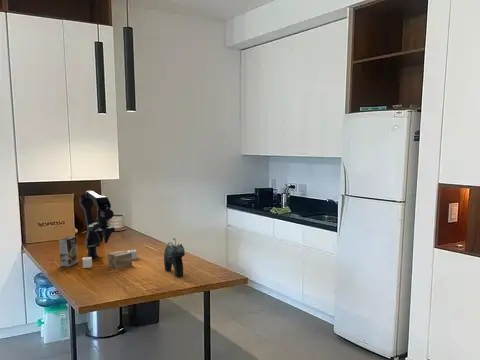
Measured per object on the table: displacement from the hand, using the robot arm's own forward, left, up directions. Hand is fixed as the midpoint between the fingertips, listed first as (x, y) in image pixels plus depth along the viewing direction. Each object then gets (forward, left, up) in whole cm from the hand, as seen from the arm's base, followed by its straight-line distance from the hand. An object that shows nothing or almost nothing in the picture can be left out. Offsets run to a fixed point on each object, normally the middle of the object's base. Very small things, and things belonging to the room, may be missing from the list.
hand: (103, 242), depth 269 cm
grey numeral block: (-1, +16, -12) cm, 20 cm away
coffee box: (-4, -20, -12) cm, 24 cm away
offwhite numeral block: (+6, -10, -12) cm, 17 cm away
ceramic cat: (+43, +33, -12) cm, 56 cm away
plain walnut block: (+12, +8, -12) cm, 19 cm away
